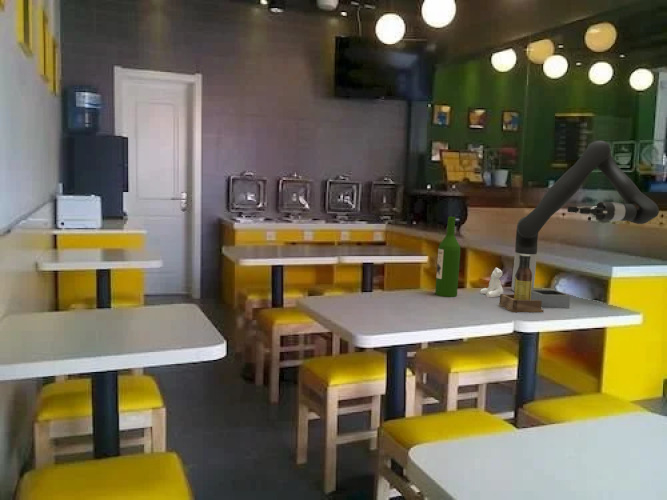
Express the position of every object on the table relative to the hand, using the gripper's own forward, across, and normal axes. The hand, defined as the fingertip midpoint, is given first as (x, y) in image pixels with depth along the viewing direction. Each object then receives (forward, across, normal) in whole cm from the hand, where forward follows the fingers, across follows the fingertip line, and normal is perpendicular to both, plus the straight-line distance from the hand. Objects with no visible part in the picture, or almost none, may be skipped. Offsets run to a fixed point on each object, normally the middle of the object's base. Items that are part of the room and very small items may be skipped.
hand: (574, 210), depth 248 cm
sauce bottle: (+26, +12, +37) cm, 47 cm away
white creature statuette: (+25, -14, +38) cm, 48 cm away
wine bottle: (+46, -14, +38) cm, 61 cm away
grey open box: (+10, +4, +38) cm, 40 cm away
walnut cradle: (+26, +12, +38) cm, 48 cm away
